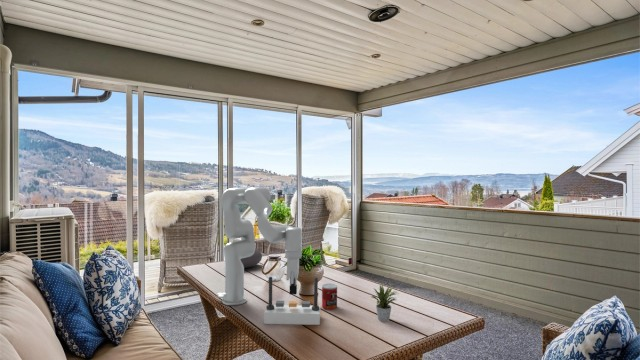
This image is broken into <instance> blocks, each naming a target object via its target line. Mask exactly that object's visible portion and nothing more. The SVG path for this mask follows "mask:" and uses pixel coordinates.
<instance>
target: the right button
mask: <svg viewBox="0 0 640 360" xmlns="http://www.w3.org/2000/svg"><path fill="white" fill-rule="evenodd" d="M301 305H302V307H310V306H311V301H310V300H302V302H301Z"/></svg>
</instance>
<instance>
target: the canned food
mask: <svg viewBox="0 0 640 360" xmlns="http://www.w3.org/2000/svg"><path fill="white" fill-rule="evenodd" d="M321 307H322V309H324V310H327V311H332V310H336V309H337V307H338V286H337V284H335V283H324V284H322V286H321Z"/></svg>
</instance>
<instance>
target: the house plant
mask: <svg viewBox="0 0 640 360" xmlns="http://www.w3.org/2000/svg"><path fill="white" fill-rule="evenodd" d="M393 289H394V286H392V287H391V285H389V286H388V287H387V288H386V289H385V288H384V285H383V284H379V288H378V289H376V288H373V290H374V293H375V295H376V296H377V297H378V298H377V297H376V296H374V295H372V296H370V298H372V299H374V300H376V305H375V309H376V314H377V320H378V321H380V322H384V323H385V322H389V321H390V317H391V311H392V305H390V303H391V304H393V305H395V302H394V301H396V297H393V296H394V295H396V294H399V292H401V290H400V289H399V291H397V290H395V291H393V292H392V290H393ZM377 290H379V291H377Z"/></svg>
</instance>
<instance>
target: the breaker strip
mask: <svg viewBox="0 0 640 360" xmlns="http://www.w3.org/2000/svg"><path fill="white" fill-rule="evenodd" d="M273 305H274V309H273V310H267V309H266V308H265V310H264V312H263V317H264V318H263V323H264V325H305V326H306V325H313V326H315V325H319V326H320V324H321V309H320V310H319V311H313V310H312V306H313V305H310V307H302V304H301V305H299V304H297V307H289V304H284V307H276V304H273ZM318 306H319V307H320V308H321V305H318Z"/></svg>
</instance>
